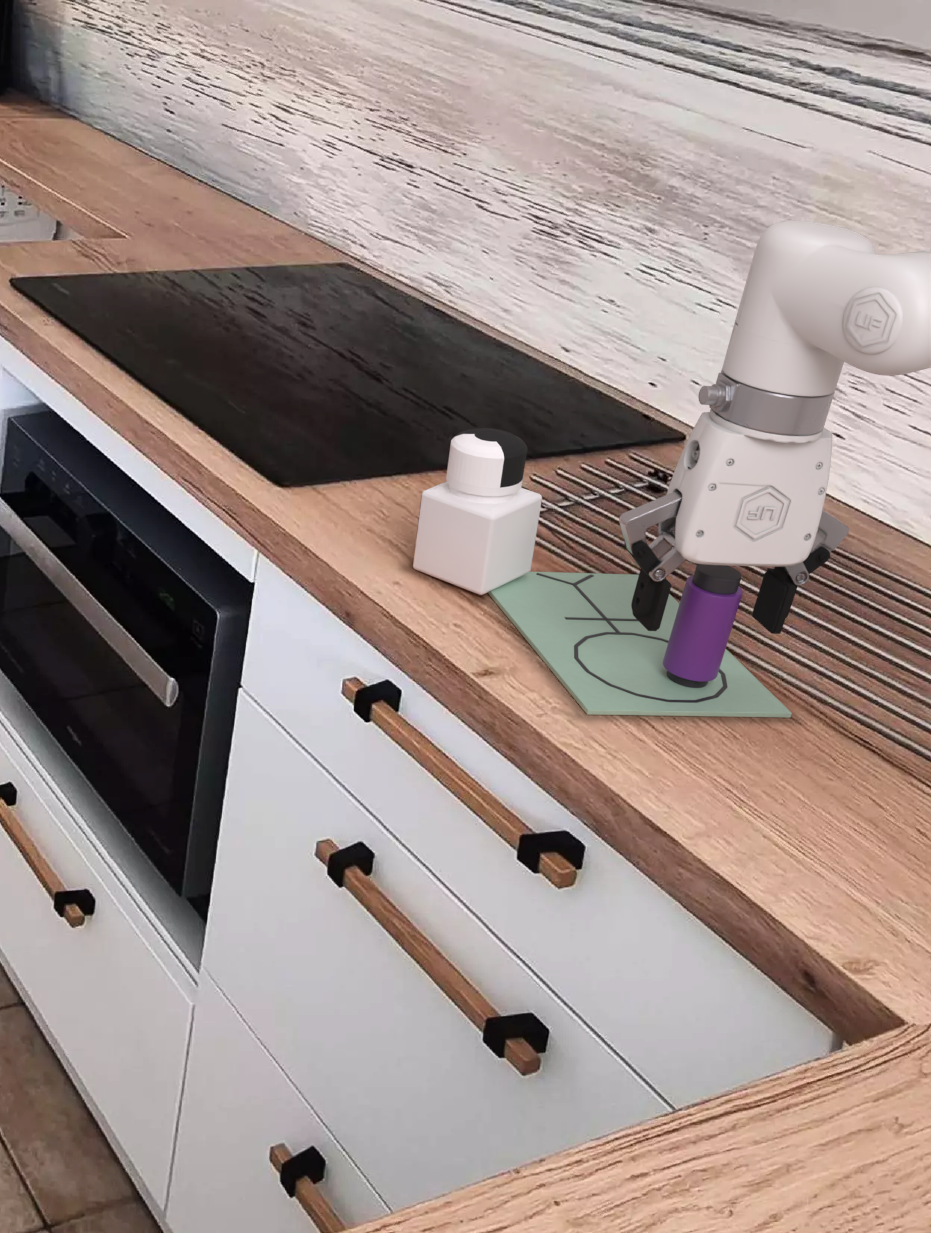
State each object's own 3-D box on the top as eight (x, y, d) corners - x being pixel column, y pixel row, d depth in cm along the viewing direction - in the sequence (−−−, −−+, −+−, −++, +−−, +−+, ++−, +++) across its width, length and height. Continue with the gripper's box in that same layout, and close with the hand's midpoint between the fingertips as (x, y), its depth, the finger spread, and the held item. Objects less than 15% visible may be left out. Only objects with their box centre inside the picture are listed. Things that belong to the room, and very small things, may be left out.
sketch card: (790, 717, 130) (792, 712, 129) (587, 714, 127) (588, 709, 127) (649, 578, 150) (650, 574, 150) (471, 574, 148) (472, 569, 148)
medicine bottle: (461, 546, 152) (479, 414, 146) (531, 573, 147) (553, 438, 142) (410, 569, 148) (427, 434, 142) (481, 597, 143) (501, 459, 137)
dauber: (715, 674, 134) (748, 567, 130) (712, 696, 131) (746, 586, 126) (661, 661, 135) (692, 554, 131) (657, 682, 132) (689, 573, 128)
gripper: (679, 418, 118) (617, 645, 126) (913, 428, 121) (838, 650, 129) (631, 382, 125) (575, 600, 133) (854, 392, 127) (787, 605, 135)
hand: (705, 624), depth 131 cm, fingers open, 9 cm apart
